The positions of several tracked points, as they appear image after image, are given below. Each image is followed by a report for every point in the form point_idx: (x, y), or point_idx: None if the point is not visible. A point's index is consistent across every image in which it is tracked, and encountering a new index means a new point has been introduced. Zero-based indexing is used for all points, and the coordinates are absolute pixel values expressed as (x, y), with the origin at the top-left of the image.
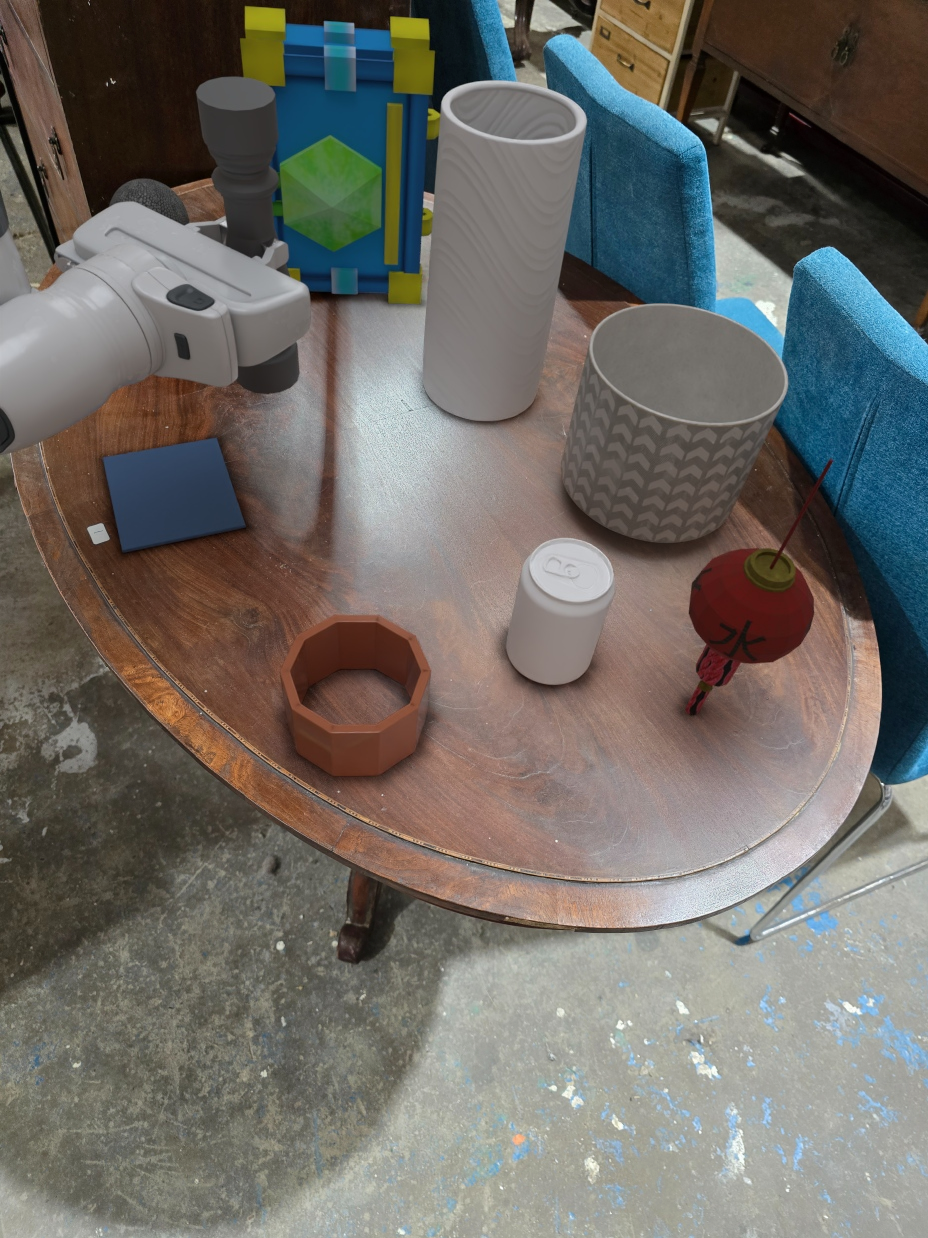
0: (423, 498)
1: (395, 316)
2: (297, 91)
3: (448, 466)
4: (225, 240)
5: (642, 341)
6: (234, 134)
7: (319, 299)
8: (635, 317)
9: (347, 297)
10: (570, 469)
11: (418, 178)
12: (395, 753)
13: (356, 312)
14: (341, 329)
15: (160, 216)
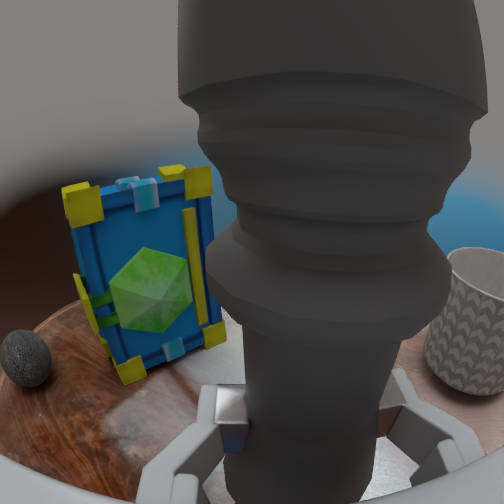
0: (401, 475)
1: (219, 356)
2: (113, 221)
3: (383, 440)
4: (238, 446)
5: None
6: (473, 21)
7: (158, 369)
8: None
9: (176, 358)
10: (473, 379)
11: None
12: None
13: (191, 367)
14: (193, 386)
15: (64, 501)
